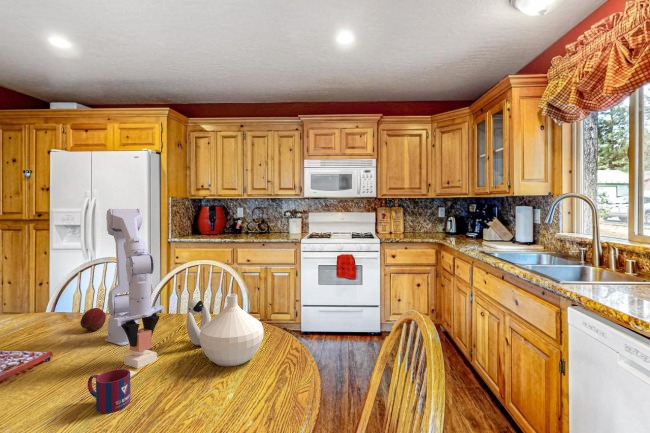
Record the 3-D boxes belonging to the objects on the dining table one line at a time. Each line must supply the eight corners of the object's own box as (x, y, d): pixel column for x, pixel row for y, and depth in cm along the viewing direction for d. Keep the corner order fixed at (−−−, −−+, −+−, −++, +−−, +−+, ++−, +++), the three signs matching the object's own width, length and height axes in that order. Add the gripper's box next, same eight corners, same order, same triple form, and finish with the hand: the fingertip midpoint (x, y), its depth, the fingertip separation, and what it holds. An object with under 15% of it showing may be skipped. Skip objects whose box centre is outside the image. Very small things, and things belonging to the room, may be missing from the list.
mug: (111, 416, 75) (111, 385, 75) (78, 407, 78) (77, 377, 78) (137, 399, 81) (137, 371, 81) (105, 392, 84) (105, 364, 84)
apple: (110, 329, 127) (110, 307, 126) (86, 335, 120) (86, 312, 120) (100, 325, 131) (99, 304, 130) (76, 331, 124) (76, 309, 124)
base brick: (124, 364, 99) (124, 356, 99) (143, 356, 105) (143, 348, 105) (137, 369, 97) (137, 360, 97) (156, 361, 102) (156, 352, 102)
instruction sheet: (93, 383, 88) (93, 382, 88) (120, 369, 96) (120, 368, 96) (111, 387, 87) (111, 386, 87) (137, 372, 94) (137, 371, 94)
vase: (185, 367, 98) (185, 299, 97) (225, 343, 115) (225, 285, 114) (241, 379, 91) (241, 307, 91) (274, 351, 108) (274, 290, 108)
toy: (199, 352, 107) (199, 304, 107) (178, 350, 109) (178, 302, 108) (217, 338, 118) (217, 295, 118) (198, 337, 120) (198, 293, 119)
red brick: (129, 349, 100) (129, 331, 100) (142, 344, 103) (142, 326, 103) (138, 352, 98) (138, 333, 98) (151, 347, 101) (151, 329, 101)
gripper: (124, 305, 92) (124, 355, 92) (171, 292, 105) (171, 337, 105) (108, 301, 95) (108, 350, 95) (155, 290, 108) (155, 333, 108)
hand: (140, 343), depth 101 cm, fingers closed on red brick, 4 cm apart
